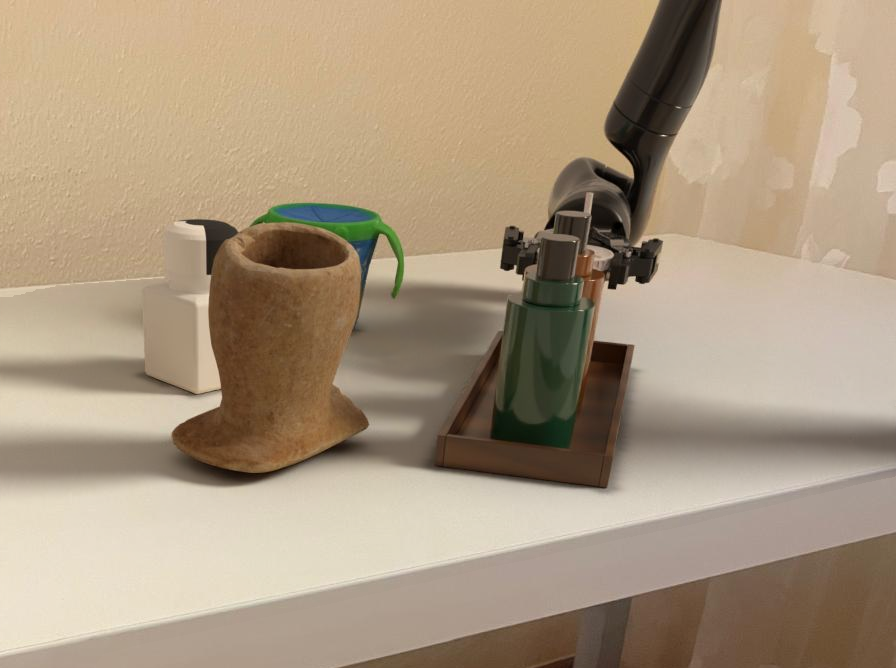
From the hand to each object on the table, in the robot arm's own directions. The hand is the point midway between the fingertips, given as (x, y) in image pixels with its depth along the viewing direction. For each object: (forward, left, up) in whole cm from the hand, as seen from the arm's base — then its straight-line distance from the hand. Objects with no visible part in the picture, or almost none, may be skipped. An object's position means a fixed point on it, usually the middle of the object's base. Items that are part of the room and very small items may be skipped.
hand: (570, 271), depth 97 cm
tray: (-4, +7, -9) cm, 12 cm away
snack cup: (+26, +3, -9) cm, 28 cm away
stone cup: (+1, +30, -9) cm, 32 cm away
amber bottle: (-4, +7, -9) cm, 12 cm away
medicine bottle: (+19, +23, -9) cm, 31 cm away
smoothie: (+1, -2, -9) cm, 9 cm away
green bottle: (-9, +15, -9) cm, 20 cm away
